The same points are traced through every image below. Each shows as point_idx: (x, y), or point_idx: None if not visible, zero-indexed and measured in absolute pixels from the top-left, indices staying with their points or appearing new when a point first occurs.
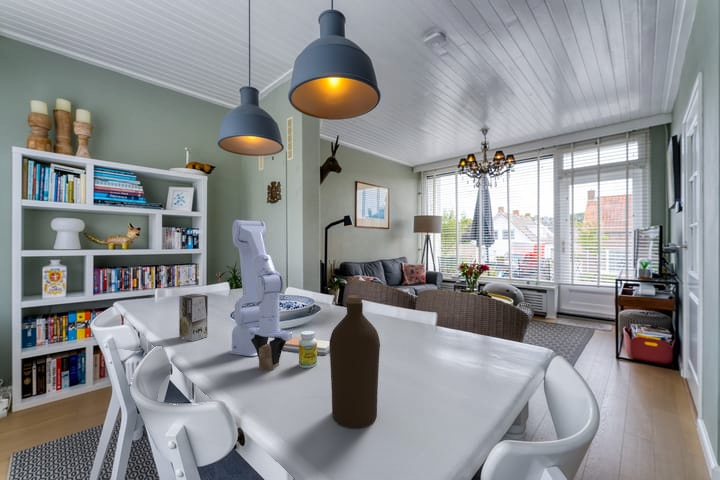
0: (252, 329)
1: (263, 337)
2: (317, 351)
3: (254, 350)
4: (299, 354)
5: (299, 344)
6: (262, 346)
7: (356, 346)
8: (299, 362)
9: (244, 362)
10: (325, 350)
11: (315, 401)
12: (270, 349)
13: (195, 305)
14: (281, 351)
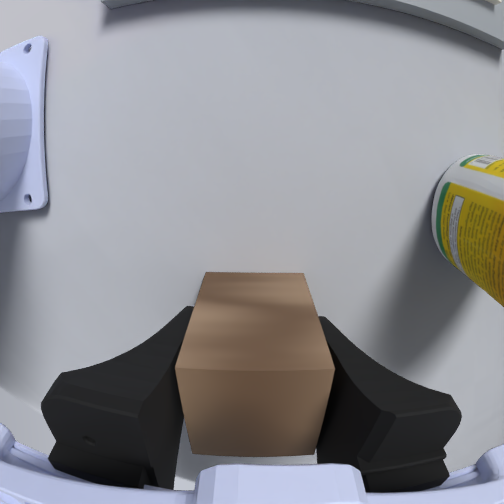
0: (4, 493)
1: (156, 472)
2: (470, 26)
3: (11, 174)
4: (481, 286)
5: None
6: (190, 429)
7: None
8: (451, 262)
9: (65, 292)
10: (497, 12)
11: (495, 427)
12: (308, 454)
13: None
14: (364, 356)
